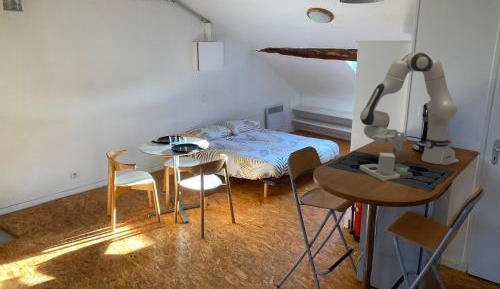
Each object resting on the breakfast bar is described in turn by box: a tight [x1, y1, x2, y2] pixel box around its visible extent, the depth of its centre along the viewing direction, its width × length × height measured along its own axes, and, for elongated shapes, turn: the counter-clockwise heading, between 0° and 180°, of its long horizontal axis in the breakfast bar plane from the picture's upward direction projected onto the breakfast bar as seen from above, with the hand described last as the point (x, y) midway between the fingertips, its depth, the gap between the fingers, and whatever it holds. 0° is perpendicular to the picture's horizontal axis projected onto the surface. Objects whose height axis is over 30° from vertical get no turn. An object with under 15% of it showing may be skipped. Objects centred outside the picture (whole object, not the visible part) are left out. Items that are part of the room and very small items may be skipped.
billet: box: [392, 131, 405, 154], centre depth 223 cm, size 5×5×11 cm
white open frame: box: [359, 163, 401, 182], centre depth 218 cm, size 21×11×2 cm, turn 20°
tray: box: [394, 163, 410, 171], centre depth 227 cm, size 8×8×2 cm
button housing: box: [394, 170, 414, 180], centre depth 213 cm, size 7×7×3 cm
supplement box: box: [377, 152, 396, 176], centre depth 212 cm, size 7×7×13 cm
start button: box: [399, 168, 408, 174], centre depth 213 cm, size 4×4×4 cm
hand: (399, 141), depth 222 cm, fingers closed on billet, 5 cm apart
